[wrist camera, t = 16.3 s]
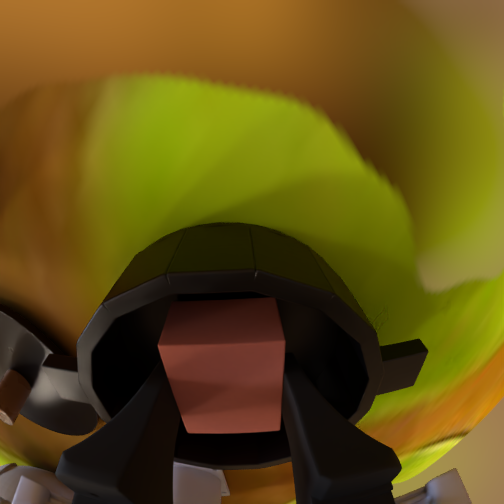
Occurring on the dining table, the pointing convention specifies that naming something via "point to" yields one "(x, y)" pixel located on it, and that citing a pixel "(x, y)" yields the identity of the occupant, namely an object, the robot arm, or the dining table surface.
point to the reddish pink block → (225, 364)
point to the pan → (223, 288)
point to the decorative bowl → (8, 476)
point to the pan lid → (35, 380)
